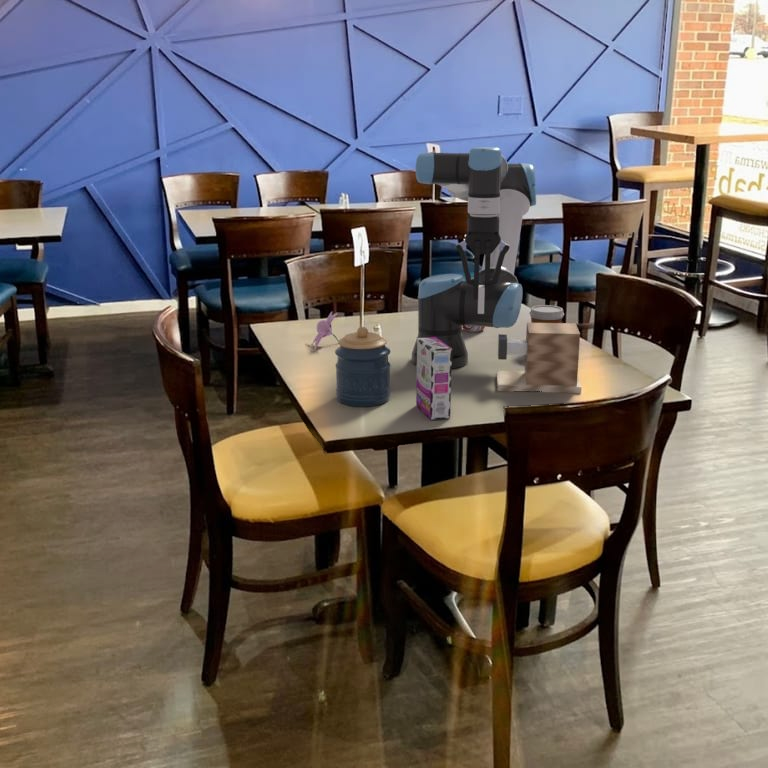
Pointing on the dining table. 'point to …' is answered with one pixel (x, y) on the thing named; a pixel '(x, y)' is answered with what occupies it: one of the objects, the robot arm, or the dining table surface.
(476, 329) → the soda can
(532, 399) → the dining table surface
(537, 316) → the disposable coffee cup
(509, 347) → the shaft
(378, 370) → the canister
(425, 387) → the candy bar box
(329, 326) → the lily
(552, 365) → the block
